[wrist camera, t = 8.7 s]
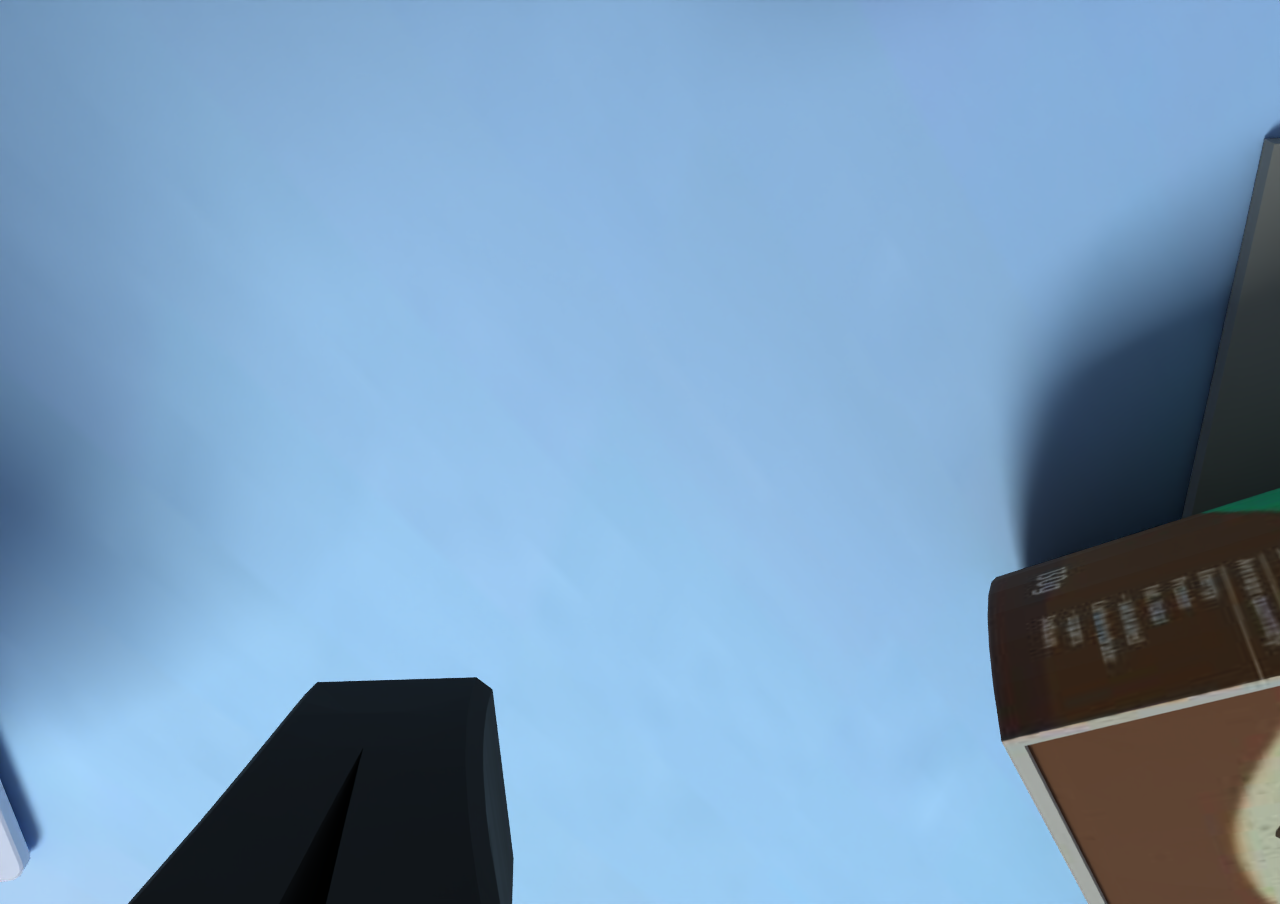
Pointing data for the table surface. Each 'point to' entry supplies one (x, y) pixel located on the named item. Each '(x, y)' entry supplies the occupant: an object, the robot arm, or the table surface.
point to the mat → (1246, 364)
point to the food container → (1152, 706)
